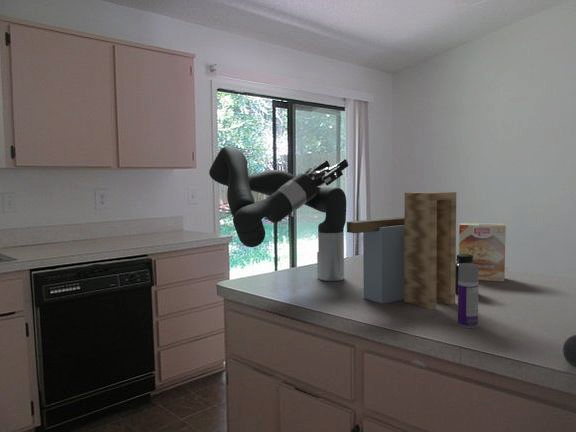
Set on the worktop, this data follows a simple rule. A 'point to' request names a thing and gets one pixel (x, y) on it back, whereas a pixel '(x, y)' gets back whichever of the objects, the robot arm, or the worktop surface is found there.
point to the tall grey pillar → (384, 264)
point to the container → (468, 295)
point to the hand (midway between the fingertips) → (337, 162)
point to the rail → (373, 224)
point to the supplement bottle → (460, 259)
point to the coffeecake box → (484, 248)
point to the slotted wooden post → (430, 248)
